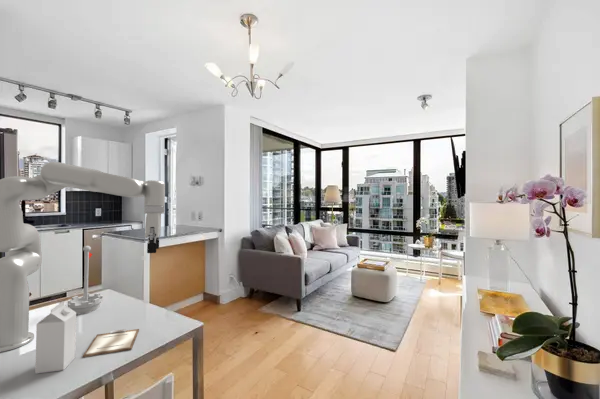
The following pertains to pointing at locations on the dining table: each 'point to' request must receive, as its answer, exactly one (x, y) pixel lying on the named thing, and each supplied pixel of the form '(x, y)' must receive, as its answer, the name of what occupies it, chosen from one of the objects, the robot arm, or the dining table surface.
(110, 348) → the clipboard
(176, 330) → the dining table surface
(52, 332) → the milk carton
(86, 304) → the flag stand
